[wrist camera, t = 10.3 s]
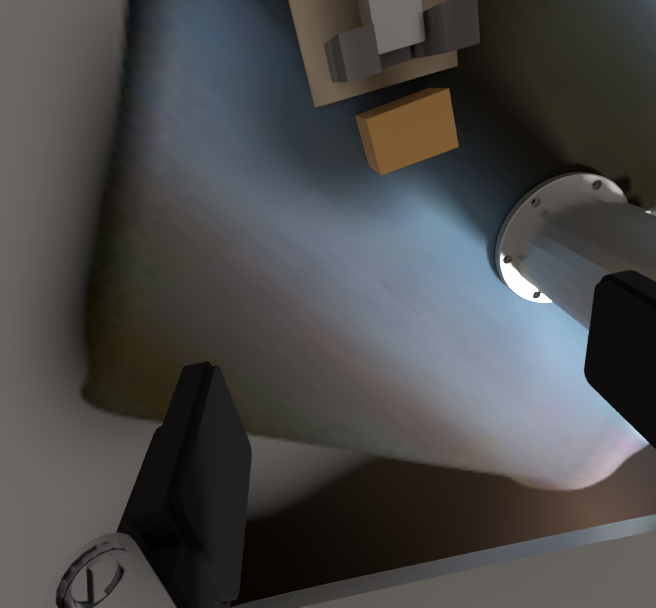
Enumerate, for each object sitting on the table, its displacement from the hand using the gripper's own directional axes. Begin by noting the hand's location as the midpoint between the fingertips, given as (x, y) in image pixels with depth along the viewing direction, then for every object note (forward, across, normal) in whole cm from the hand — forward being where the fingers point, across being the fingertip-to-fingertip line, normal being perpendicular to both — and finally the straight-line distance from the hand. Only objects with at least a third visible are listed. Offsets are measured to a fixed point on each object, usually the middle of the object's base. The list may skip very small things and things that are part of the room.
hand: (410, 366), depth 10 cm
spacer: (+25, -6, -4) cm, 26 cm away
